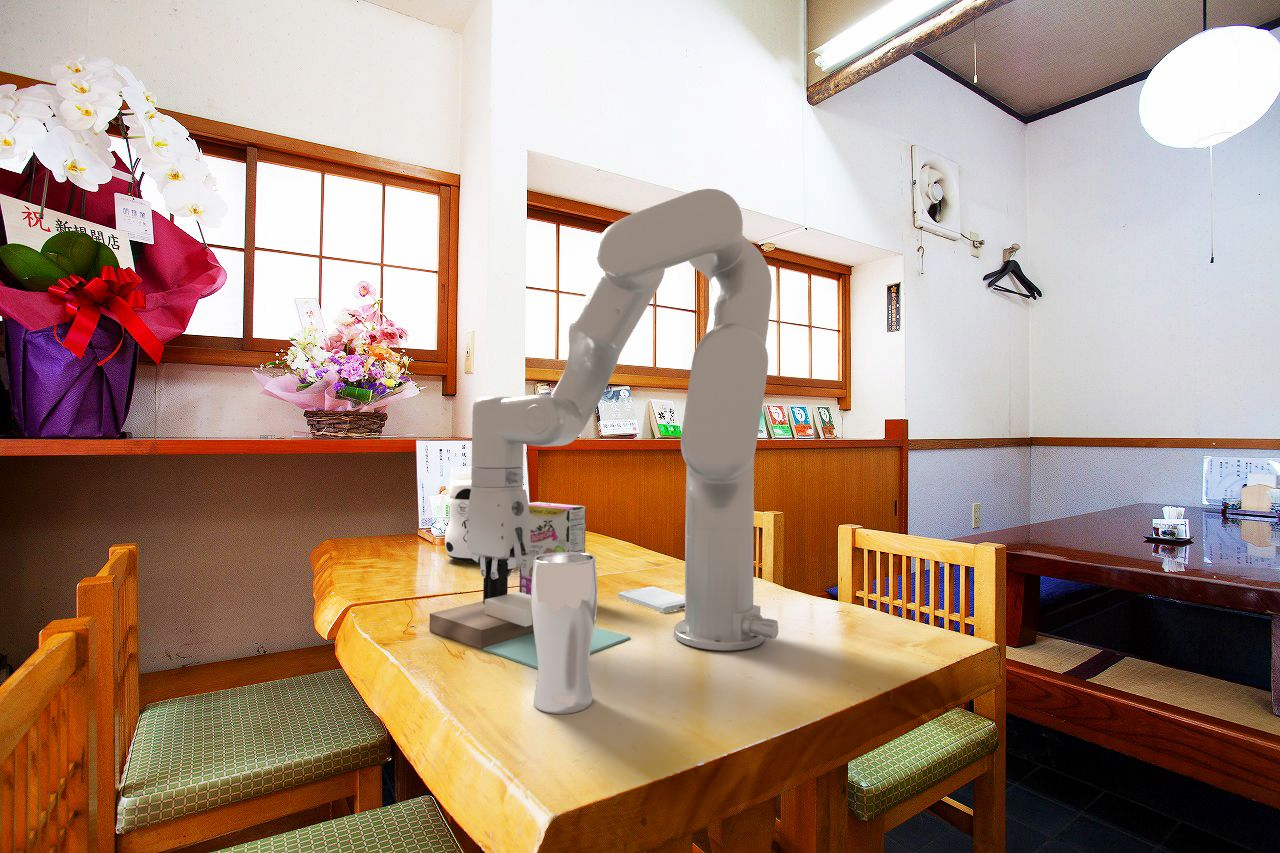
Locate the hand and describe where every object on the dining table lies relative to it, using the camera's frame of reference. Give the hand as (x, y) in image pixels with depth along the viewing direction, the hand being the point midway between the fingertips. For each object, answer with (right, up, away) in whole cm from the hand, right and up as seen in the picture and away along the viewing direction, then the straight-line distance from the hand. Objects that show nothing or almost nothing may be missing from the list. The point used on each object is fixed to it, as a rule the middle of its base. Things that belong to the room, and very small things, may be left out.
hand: (495, 603), depth 91 cm
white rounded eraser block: (+5, -1, -4) cm, 6 cm away
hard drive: (+25, -5, +14) cm, 29 cm away
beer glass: (+13, -3, -27) cm, 30 cm away
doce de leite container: (-15, -5, +51) cm, 53 cm away
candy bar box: (+6, -4, +15) cm, 17 cm away
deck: (+1, -3, -1) cm, 3 cm away
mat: (+11, -3, -9) cm, 14 cm away
